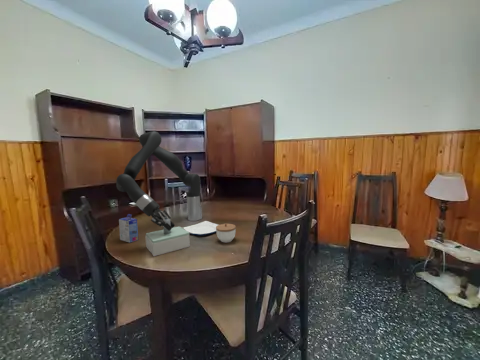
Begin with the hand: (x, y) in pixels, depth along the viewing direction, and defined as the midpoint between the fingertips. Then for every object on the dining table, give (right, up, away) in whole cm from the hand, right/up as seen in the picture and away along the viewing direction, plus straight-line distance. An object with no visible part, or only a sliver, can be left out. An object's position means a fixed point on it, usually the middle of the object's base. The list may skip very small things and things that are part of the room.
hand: (172, 228), depth 117 cm
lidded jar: (+27, -8, +7) cm, 30 cm away
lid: (-3, -5, +1) cm, 5 cm away
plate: (+12, -7, +25) cm, 29 cm away
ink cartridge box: (-28, -9, +12) cm, 32 cm away
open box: (-2, -10, +1) cm, 10 cm away
